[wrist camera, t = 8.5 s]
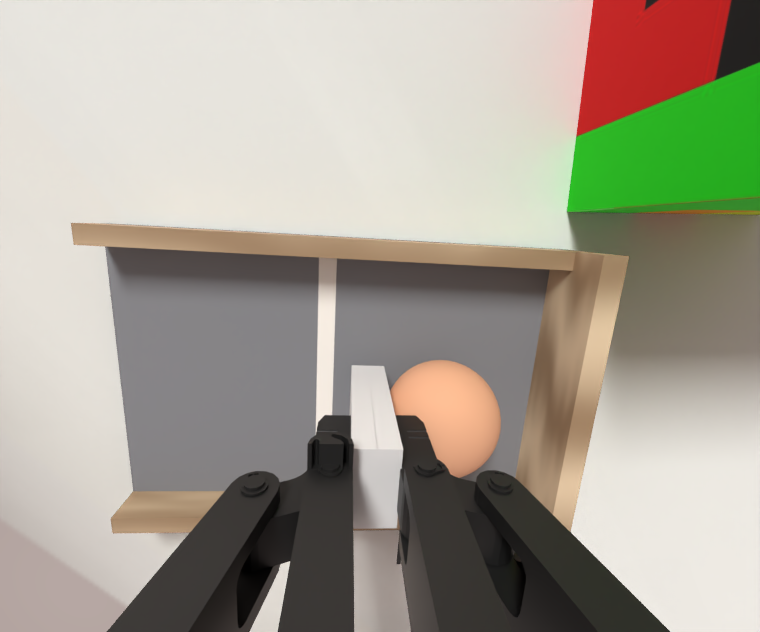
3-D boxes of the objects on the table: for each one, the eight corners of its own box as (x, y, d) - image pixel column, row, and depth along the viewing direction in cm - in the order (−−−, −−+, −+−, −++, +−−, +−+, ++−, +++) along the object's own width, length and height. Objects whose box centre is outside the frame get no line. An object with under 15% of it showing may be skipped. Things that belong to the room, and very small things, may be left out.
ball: (524, 362, 16) (423, 335, 19) (480, 410, 12) (361, 368, 15) (508, 458, 17) (417, 421, 20) (465, 529, 13) (359, 470, 16)
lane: (111, 223, 16) (102, 223, 15) (566, 249, 18) (573, 250, 17) (141, 496, 19) (134, 504, 19) (523, 494, 21) (528, 502, 20)
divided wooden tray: (102, 223, 15) (30, 222, 12) (573, 250, 17) (629, 256, 14) (134, 504, 19) (85, 568, 15) (528, 502, 20) (564, 558, 17)
